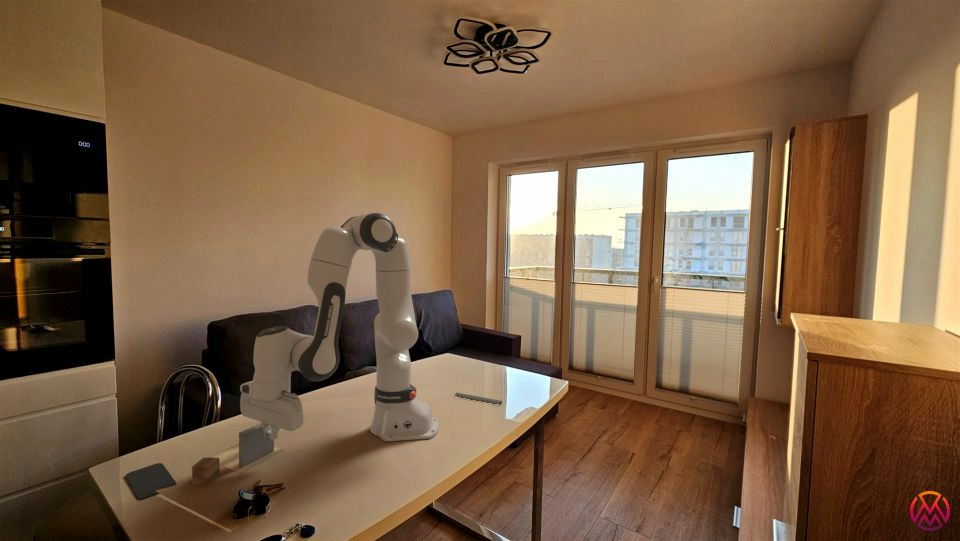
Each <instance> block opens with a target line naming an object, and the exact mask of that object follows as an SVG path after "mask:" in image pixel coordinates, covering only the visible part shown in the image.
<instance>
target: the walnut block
mask: <svg viewBox="0 0 960 541" xmlns="http://www.w3.org/2000/svg"><path fill="white" fill-rule="evenodd" d="M220 466H221V465H220V458H208V457H202V458H201V459H200V460H198V461H197V462H196V463H195V464H193V465H192V466H191V475H192V476H191V485H194V486H195V485H196V486H198V485H199V486H200V485H201V486H202V485H203V486H204V485H205V486H208V485H210V484H211V483H212V482H214V481H215V480H216V479H217V478H218V477H220Z"/></svg>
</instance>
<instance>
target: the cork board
mask: <svg viewBox="0 0 960 541" xmlns="http://www.w3.org/2000/svg"><path fill="white" fill-rule="evenodd" d="M284 451H286V449H282V448H280V447H277V446H274V452H272V453H270V454H268V455H266V456H265V457H263V458H261V459H259V460H257V461H255V462H253V463H251V464H249V465H247V466H245V467H241V466H239V443H237V444H235V445H232V446H230V447H227V448H225V449H223V450H222V451H219V452H217V453H214V454H212V455H210V456H208V457H207V458H220V466H221V467H224V468H225V469H229V470H231V471H234V472H236V473H238V474H240V475H241V474H243V473H246V472H248V471H249V470H251V469H252V468H254V467H256V466H258V465H260V464H263V463H264V462H266V461H268V460H270V459H272V458H273V457H276V456H277V455H279V454H281V453H283V452H284Z"/></svg>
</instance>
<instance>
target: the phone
mask: <svg viewBox="0 0 960 541" xmlns="http://www.w3.org/2000/svg"><path fill="white" fill-rule="evenodd" d="M125 479H127V480H126V482H127V481H128V482H129V484H128V486H131V487H130V488H132V489H131V490H132V492H133V494H134V495H135V497H136V500H138V501H143V500H146V499H149V498H152V497H155V496H157V495H159V494H160V493H159V492H158V491H159V490H163V489H168V488H171V487H174V486H176V485H177V484H178V483H177V482H176V480H175V479H174V477H173V476H172V475H171V472H169V471H168V469H167V468H166V466H165V465H164V464H163V463H162V462H159V463H158V462H157V463H153V464H151V465H150V464H149V465H148V466H145V467H142V468H139V469H136V470H132V471H130V472H128V473H126V474H125ZM128 482H127V483H128Z"/></svg>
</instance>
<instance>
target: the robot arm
mask: <svg viewBox="0 0 960 541" xmlns="http://www.w3.org/2000/svg"><path fill="white" fill-rule="evenodd" d="M359 250H362V251H363V250H364V251H371V252H372V254H373V257H374V259H375V260H374V261H375V286H376V287H375V289H376V290H375V293H376V294H375V295H376V299H377V303H378V309H379V312H378V313H377V314H376V316H375V318H374V321H373V326H374V327H373V329H374V344H375V345H374V347H375V358H376V384H375V387H374V393H373V394H374V396H373V398H374V404H375V405H374V413H373V418H372V421H371V425H370V429H369V431H370V432H371V433H372V434H373V435H375V436H376V437H379V438H380V439H381V440H382V441H383V442H397V441H398V442H399V441H409V440H410V441H411V440H413V441H414V440H425V439H426V440H428V439H431V438H433V437H435V436H436V435H437V433H438V431H439V428H440V426H439V425H440V424H439V420H438V418H436V417H435V416H433V412H432V408H431V406H430V405H429V404H428V403H427V402H425V401H424V400H422V399H421V398H420V397H418V396H417V385H415V386H413V385H412V383H411V378H412V377H411V374H412V373H411V370H412V362H411V357H410V352H409V349H411V348H412V347H414V345H415V344H416V342H417V341H418V338H419V330H418V327H417V322H416V313H415V309H414V304H413V298H412V288H411V287H412V284H411V280H412V279H411V260H410V253H409V248H408V244H407V242H406V240H405V239H404V238H402V237H400V236H399V234H398V232H397V230H396V226H395V224H394V222H393V220H392V219H391V218H390V217H389V216H387V215H385V214H384V213H380V212H371V213H369V212H368V213H367V212H366V213H361V214H359V215H355V216H352V217H350V218H348V219H346V220H345V222H344V223H343V224H342V225H341V226H329V227H327V228H325V229H323V231H321V234H320V235H319V237H318V240H317V242H316V244H315V246H314V248H313V251H312V254H311V258H310V260H309V266H308V269H307V279H306V280H307V283H308V287H310V290H311V291H312V292H313V294H314V296H315V298H316V300H317V305H318V311H317V318H316V322H315V327H314V331H313V332H314V333H313V335H311V334H306V333H305V334H303V333H299V332H297V331H295V330H292V329H290V328H289V327H288V326H285V325H284V326H283V325H280V326H279V325H277V326H271V327H267V328H266V329H265V328H264V329H263V330H261V331H260V332H258V333H257V335H256V337H255V342H254V348H253V358H252V359H253V365H254V374H253V377H252V380H251V381H247V382H244V383H241V385H239V387H240V388H239V390H240V392H241V395H240V403H239V404H240V407H239V408H240V412H241V415H242V416H243V417H245V418H247V419H251V420H254V421H258V422H260V424H261V425H262V428H263V430H264V432H265V436H264V437H265V438H267V439H270V440H274V441H275V440H276V439H278V437H279V431H280V429H282V430H285V431H288V432H294V431H296V430H298V429H300V428H302V426H303V424H304V411H303V403H302V401H301V399H300V398H299V396H298V394H297V393H294V392H293V393H291V376H292V373H293V372H294V371H295V372H296V371H298V372H300V374H301V375H302V376H303V377H304V378H305V379H307V380H308V381H310V382H321V381H324V380H326V379H328V378H330V377H331V376H332V375H333V374H334V373H335V372H336V370H337V369H338V367H339V364H340V363H341V362H340V359H341V356H340V354H341V353H340V348H339V340H340V334H341V333H340V332H341V327H342V323H343V322H342V321H343V317H344V311H345V305H346V293H347V292H346V291H347V285H348V280H349V275H350V271H351V267H352V263H353V258H354V256H355V255H356V253H357V252H358V251H359Z"/></svg>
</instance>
